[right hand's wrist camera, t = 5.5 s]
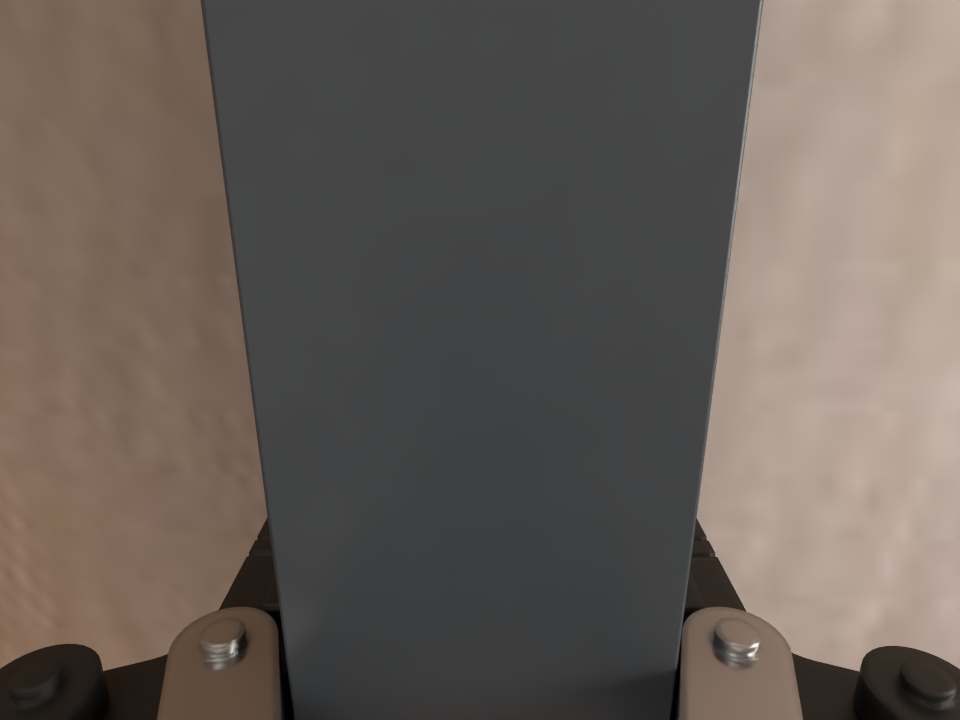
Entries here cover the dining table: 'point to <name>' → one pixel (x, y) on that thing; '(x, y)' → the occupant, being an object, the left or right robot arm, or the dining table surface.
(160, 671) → the right robot arm
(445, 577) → the bar
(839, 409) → the dining table surface
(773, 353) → the dining table surface
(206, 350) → the dining table surface
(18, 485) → the dining table surface
